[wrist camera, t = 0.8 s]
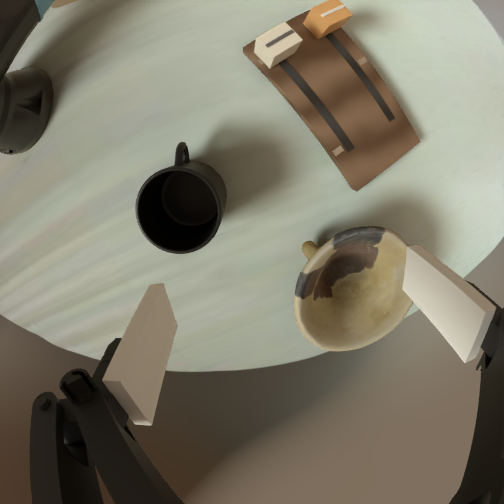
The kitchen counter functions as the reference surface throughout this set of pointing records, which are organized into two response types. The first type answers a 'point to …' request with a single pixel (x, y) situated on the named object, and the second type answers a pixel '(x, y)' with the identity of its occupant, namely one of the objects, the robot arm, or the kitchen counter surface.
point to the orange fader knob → (326, 18)
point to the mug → (181, 205)
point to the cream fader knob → (277, 44)
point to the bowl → (352, 289)
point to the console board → (341, 102)
